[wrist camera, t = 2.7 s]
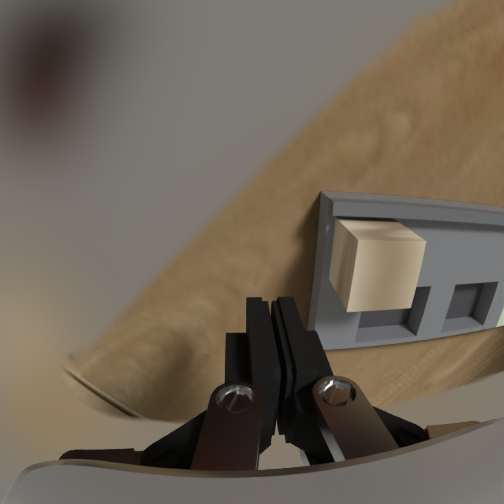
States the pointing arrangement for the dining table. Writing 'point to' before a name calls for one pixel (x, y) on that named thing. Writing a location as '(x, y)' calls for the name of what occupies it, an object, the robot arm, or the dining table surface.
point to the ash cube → (375, 263)
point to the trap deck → (430, 278)
